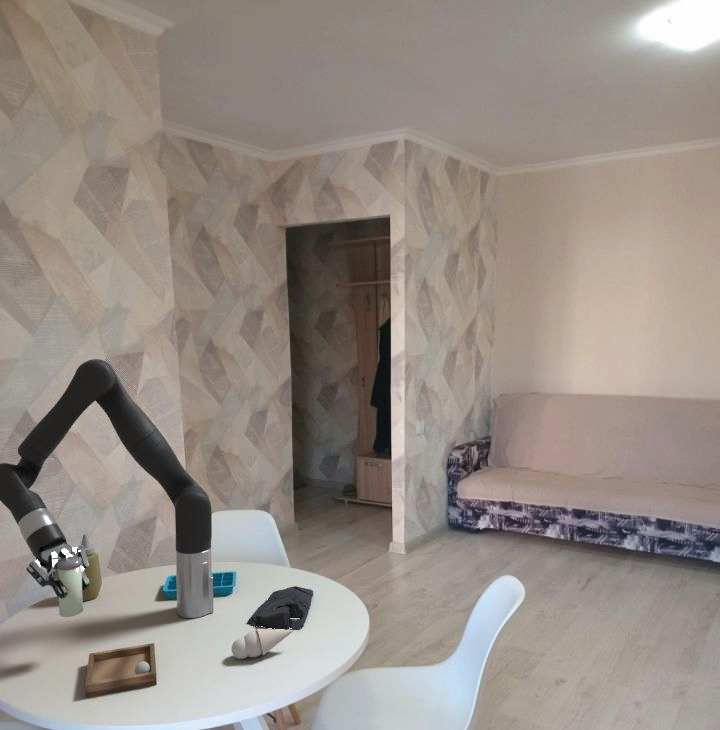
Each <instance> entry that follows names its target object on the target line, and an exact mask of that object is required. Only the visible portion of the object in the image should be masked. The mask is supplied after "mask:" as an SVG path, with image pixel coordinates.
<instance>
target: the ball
mask: <svg viewBox="0 0 720 730" xmlns="http://www.w3.org/2000/svg"><path fill="white" fill-rule="evenodd" d="M149 669H150V667H149V664H148V663H147V662H144V661H143V662H140V663H138V664H137V665H136V667H135V673H136V674H141V673H147V672H149Z"/></svg>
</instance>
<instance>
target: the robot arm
mask: <svg viewBox="0 0 720 730" xmlns="http://www.w3.org/2000/svg"><path fill="white" fill-rule="evenodd" d="M94 402H96V403H97V404H98V405H99V406H100V408H101V409H102V410H103V411H104V413H105V414H106V415H107V417H108V419H109V420H110V423H111V425H112V427H113V429H114V431H115V432H116V435H117V437H118V438H119V440H120V442H121V444H122V445H123V446H124V448H125V449H126V451H127V452H128V453H129V455H131V457H132V458H133V460H134V461H135V462H136V463H137V464H138V465H139V466H140V467H141V468H142V470H144V471H145V472H146V473H147V474H148V475H150V476H151V478H153V479H154V480H156V481H157V483H158V484H159V485H160V486H161V487H162V489H163V490H164V492H165V493H166V495H167V496H168V498H169V500H170V501H171V503H172V505H173V507H174V514H175V515H174V516H175V517H174V518H175V520H174V522H175V524H174V525H175V572H176V573H175V575H176V583H177V599H176V614H177V615H178V616H179V617H182V618H186V619H195V618H196V619H197V618H201V617H204V616H206V615H208V614H211V613H214V596H213V577H212V573H213V572H212V562H213V561H212V539H213V538H212V535H213V531H212V530H213V529H212V526H213V525H212V524H213V523H212V522H213V519H212V516H213V515H212V513H213V512H212V503H211V500H210V497H209V495H208V493H207V492H206V491H205V490H204V489H203V487H201V486H200V485H199V484H198V482H197V481H195V479H194V478H193V477H192V476H191V475H190V474H189V473H188V471H186V469H185V468H184V467H183V465H182V463H181V462H180V460H179V459H178V457H177V454H175V451H174V450H173V448H172V447H171V445H170V444H169V442H168V441H167V439H166V438H165V437H164V436H163V434H162V433H161V431H160V430H159V428H157V426H156V425H155V424H154V423H153V421H152V420H151V419H150V417H148V416H147V414H146V413H145V412H144V411H143V409H142V408H141V407H139V405H138V404H137V403H136V401H134V400H133V399H132V398H131V396H130V395H129V393H128V392H127V390H126V388H125V387H124V385H123V383H122V382H121V380H120V378H119V377H118V374H117V373H116V371H115V369H114V368H113V366H112V365H111V364H110V363H108V362H107V361H105V360H103V359H98V358H94V359H93V358H92V359H90V360H87V361H84V362H83V363H81V364H80V365H79V366H78V367H77V368H76V370H75V372H74V375H73V377H72V379H71V380H70V382H69V384H68V386H67V388H66V389H65V391H64V392H63V394H62V395H61V397H60V398H59V399H58V400H57V402H56V403H55V404H54V405H53V407H52V408H51V409H50V410H49V411H48V412H47V413H46V415H44V417H43V418H42V419H40V421H39V422H38V423H37V424H36V425H35V427H34V428H33V429H32V430H31V431H30V432H29V433H28V435H27V436H26V437H25V439H24V440H23V441H22V442H21V443H20V444H19V446H18V449H17V454H18V456H19V457H20V460H19V461H18V462H17V464H12V463H7V462H1V463H0V502H1V504H3V505H4V506H5V507H6V508H7V509H8V510H9V511H10V513H11V515H12V518H13V519H14V522H16V524H17V525H18V527H19V530H20V531H19V532H20V534H21V536H22V537H23V539H24V540H25V542H26V545H27V546H28V548H29V550H30V551H31V552H30V553H31V554H32V555H33V557H34V558H35V560H31V561H30V563H29V564H28V565H27V566H26V568H25V569H26V571H27V573H28V574H29V575H30V577H32V578H33V579H34V580H35V581H36V582H37V583H38V585H40V586H41V587H42V588H43V587H44V588H45V587H46V586H50V587H51V588H52V589H53V591H54V593H55V595H56V597H57V598H59V597H60V598H61V599H63V598H65V597H66V595H67V594H68V593H67V590H66V589H65V587H64V585H63V583H62V582H61V580H58V579H59V576H58V568H57V561H58V560H60V559H62V558H66V557H72V556H77V557H81V558H82V565H81V568H82V590H85V589H87V587H88V586H89V583H90V582H89V579H88V578H87V576H86V574H85V573H84V571H85V570H86V568H87V567H88V566H89V562H88V558H87V555H86V552H85V549H84V546H83V545H81V544H79V546H76V547H72V546H71V545H69V544H68V543H67V538H66V536H65V534H64V533H63V531H62V529H61V528H60V526H59V524H58V522H57V521H56V519H55V518H54V516H53V515H52V513H51V511H49V510H48V508H47V506H46V504H45V502H44V500H42V498H41V497H40V495H39V494H38V493H37V492H35V491H33V490H31V488H32V487H33V486H34V484H35V483H36V481H37V479H38V477H39V474H40V473H41V471H42V468H43V467H44V464H45V462H46V460H47V459H48V458H49V457H50V456H51V455H52V453H53V452H54V451H55V450H56V449H57V447H58V446H59V444H61V442H62V441H63V440H64V438H65V437H66V435H67V434H68V433H69V431H70V430H71V428H72V426H73V425H74V424H75V423H76V421H78V419H79V417H80V416H81V415H82V414H83V413H84V412H85V411H86V410H87V408H89V407H90V406H91V405H92V404H93V403H94ZM43 568H45V570H43ZM45 571H46V572H45Z"/></svg>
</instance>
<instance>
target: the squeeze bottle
mask: <svg viewBox="0 0 720 730" xmlns="http://www.w3.org/2000/svg"><path fill="white" fill-rule="evenodd" d="M80 545H83V546H84V549H85V552H86V555H87V558H88V562H89V566H88V567H87V568H86V570H85V571H84V573H85V574H86V576H87V578H88V579H89V582H90V583H89V586H88V587H87V589H85V590H82V595H83V602H85V601H91V600H93V599H94V600H95V599H96V598H97V597H98V596H99V594H100V590H101V587H102V584H103V581H102V573H101V565H100V560H99V559H100V558H99V554H98V553H96V552H95V546H94V545H93V544H91V542H90V538H89V535H88V534H86V533H85V534H83V535H82V539H81V544H80Z"/></svg>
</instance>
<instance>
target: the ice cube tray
mask: <svg viewBox="0 0 720 730" xmlns="http://www.w3.org/2000/svg"><path fill="white" fill-rule="evenodd" d="M212 577H213V597H216V596H215V595H219V596H228V594H230V595H232V594H233V593H234V592H233V591H234V587H236V584H237V572H236V571H233V570H232V571H231V570H230V571H218V572H212ZM162 592H163V593H165V597H166V599H168V600H177V583H176V574H174V575H169V576H167V577H166V580H165V582H164V585H163V588H162Z"/></svg>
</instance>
